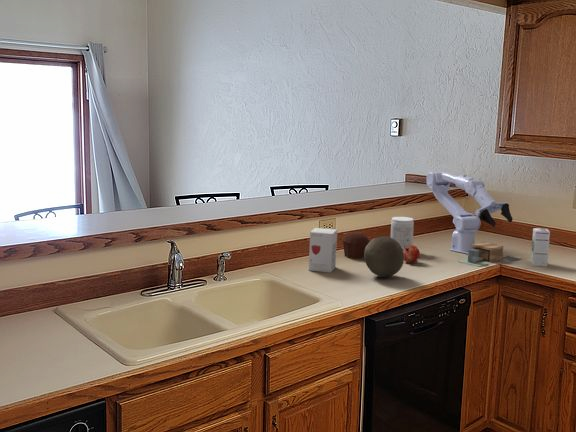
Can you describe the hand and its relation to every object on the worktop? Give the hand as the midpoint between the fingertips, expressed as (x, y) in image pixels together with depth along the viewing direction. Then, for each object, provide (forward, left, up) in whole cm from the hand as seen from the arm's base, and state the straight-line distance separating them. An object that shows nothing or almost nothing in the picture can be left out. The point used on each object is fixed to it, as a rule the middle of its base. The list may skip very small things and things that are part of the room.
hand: (503, 222), depth 249 cm
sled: (-7, -2, -16) cm, 18 cm away
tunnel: (-7, +2, -17) cm, 18 cm away
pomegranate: (-23, -29, -17) cm, 40 cm away
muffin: (-44, -39, -17) cm, 61 cm away
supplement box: (-38, -65, -17) cm, 77 cm away
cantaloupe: (-16, -56, -17) cm, 60 cm away
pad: (-7, -8, -17) cm, 20 cm away
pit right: (-1, +11, -17) cm, 20 cm away
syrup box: (+11, +11, -17) cm, 23 cm away
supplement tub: (-37, -17, -17) cm, 44 cm away
